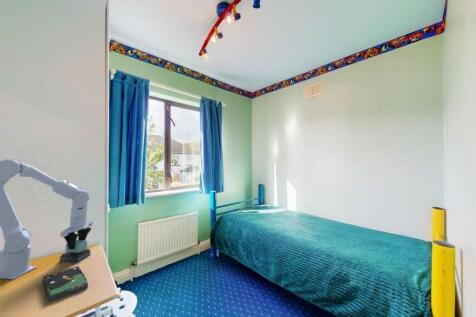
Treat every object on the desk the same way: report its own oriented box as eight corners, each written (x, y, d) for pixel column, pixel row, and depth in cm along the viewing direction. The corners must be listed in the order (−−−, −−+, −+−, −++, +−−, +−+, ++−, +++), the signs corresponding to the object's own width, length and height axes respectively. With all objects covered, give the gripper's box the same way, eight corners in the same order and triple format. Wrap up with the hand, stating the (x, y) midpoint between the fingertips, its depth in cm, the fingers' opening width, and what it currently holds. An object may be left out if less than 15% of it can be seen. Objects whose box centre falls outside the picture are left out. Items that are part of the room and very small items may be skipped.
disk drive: (41, 284, 69) (48, 304, 60) (42, 276, 70) (48, 295, 60) (78, 272, 78) (88, 289, 68) (78, 265, 78) (89, 281, 68)
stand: (59, 261, 83) (60, 254, 83) (73, 253, 90) (74, 247, 90) (77, 262, 83) (77, 256, 83) (90, 254, 90) (90, 249, 90)
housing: (78, 252, 85) (78, 244, 85) (64, 251, 85) (65, 243, 85) (86, 247, 89) (87, 240, 89) (73, 246, 89) (74, 239, 89)
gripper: (73, 222, 80) (70, 254, 80) (99, 212, 94) (97, 240, 94) (56, 221, 80) (54, 253, 80) (85, 211, 94) (83, 239, 94)
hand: (76, 246), depth 87 cm, fingers closed on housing, 4 cm apart
